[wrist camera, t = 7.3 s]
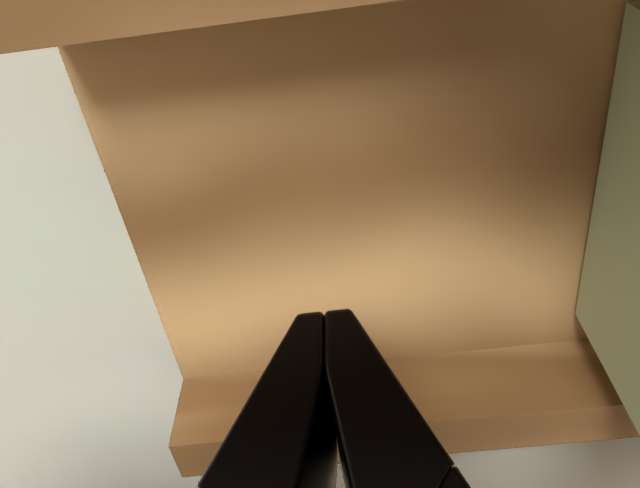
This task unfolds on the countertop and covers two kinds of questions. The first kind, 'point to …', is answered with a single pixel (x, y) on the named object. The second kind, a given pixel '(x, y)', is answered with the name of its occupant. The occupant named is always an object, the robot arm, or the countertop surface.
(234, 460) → the robot arm
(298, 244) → the bay
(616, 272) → the pale green block
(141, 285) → the countertop surface
